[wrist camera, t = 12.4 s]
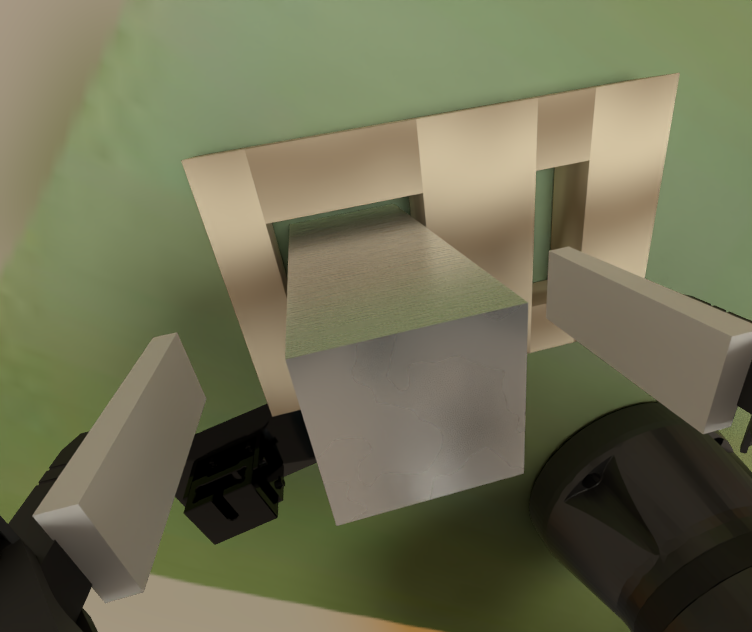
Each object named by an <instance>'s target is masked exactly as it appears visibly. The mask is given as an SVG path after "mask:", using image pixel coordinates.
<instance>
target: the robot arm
mask: <svg viewBox="0 0 752 632" xmlns="http://www.w3.org/2000/svg"><path fill="white" fill-rule="evenodd" d="M546 318H547V319H548V320H549V321H551V322H552V323H553V324H555V325H556V326H557V327H559V328H560V329H561V330H563V331H564V332H565V333H567V334H568V335H570V336H571V337H572V338H574V339H575V340H576V341H578V342H579V343H580V344H582V345H583V346H584V347H586V348H587V349H588V350H590V351H591V352H593V353H594V354H595V355H597V356H598V357H599V358H601V359H602V360H603V361H605V362H606V363H607V364H609V365H610V366H611V367H613V368H614V369H615V370H617V371H618V372H620V373H621V374H622V375H624V376H625V377H626V378H628V379H629V380H630V381H632V382H633V383H634V384H636V385H637V386H638V387H640V388H641V389H642V390H644V391H645V392H647V393H648V394H649V395H651V396H652V397H653V398H655V399H656V400H657V401H659V402H660V403H646V404H640V405H636V406H631V407H628V408H625V409H622V410H619V411H616V412H614V413H612V414H609V415H607V416H605V417H603V418H601V419H599V420H597V421H596V422H594V423H592V424H591V425H589V426H587V427H586V428H584V429H583V430H581V431H580V432H579V433H577V434H576V435H575V436H573V437H572V438H571V439H570V440H568V441H567V442H566V443H565V444H564V445H563V446H562V447H561V448H560V449H559V450H558V451H557V452H556V453H555V454H554V455H553V456H552V458H551V459H550V460H549V461H548V463H547V464H546V465H545V467H544V468H543V470H542V471H541V473H540V474H539V476H538V478H537V480H536V482H535V484H534V487H533V490H532V493H531V497H530V503H529V512H530V517H531V521H532V523H533V525H534V527H535V529H536V530H537V532H538V533H539V535H540V537H541V538H542V540H543V542H544V543H545V545H546V546H547V548H548V549H549V551H550V552H551V553H552V555H553V556H554V557H555V558H556V559H557V560H558V561H559V562H560V563H562V564H563V565H564V566H565V567H566V568H567V569H568V570H569V571H570V572H571V573H572V574H573V575H574V576H575V577H576V578H578V579H579V580H580V581H581V582H582V583H583V584H584V585H585V586H586V587H587V588H588V589H589V590H590V591H592V592H593V593H594V594H595V595H596V596H597V597H598V598H599V599H600V600H601V601H602V602H603V603H604V604H605V605H607V606H608V607H609V608H610V609H611V610H612V611H613V612H614V613H615V614H616V615H617V616H618V617H619V618H620V619H622V621H623V622H624V623H625V624H626V625H627V626H628V628H629V629H630V630H631V632H752V472H751V471H750V470H749V469H748V467H747V466H746V465H745V464H744V463H743V462H742V461H741V460H740V458H739V457H738V456H737V455H736V454H735V453H734V452H733V449H732V447H731V445H730V444H729V443H728V441H727V440H726V439H725V437H724V436H723V435H722V434H721V433H720V432H719V431H718V430H720V429H724V428H727V427H731V425H732V422H733V419H734V416H735V413H736V410H737V407H738V406H739V407H741V408H742V409H744V410H745V411H747V412H749V413H750V414H752V321H751V320H748V319H746V318H743V317H741V316H738V315H736V314H734V313H731V312H726V310H724V309H722V308H719V307H717V306H711V304H710V303H707V302H705V301H702V300H700V299H697V298H695V297H693V296H688V295H684V294H681V293H678V292H676V291H673V290H671V289H669V288H666V287H664V286H661V285H659V284H657V283H654V282H652V281H650V280H647V279H645V278H642V277H640V276H638V275H635V274H633V273H631V272H628V271H626V270H623V269H621V268H619V267H616V266H614V265H611V264H609V263H607V262H604V261H602V260H600V259H597V258H595V257H592V256H590V255H588V254H585V253H583V252H581V251H578V250H576V249H573V248H571V247H564V248H559V249H555V250H550V251H549V262H548V283H547V304H546ZM205 401H206V397H205V394H204V392H203V390H202V388H201V385H200V383H199V381H198V379H197V376H196V374H195V372H194V369H193V367H192V365H191V363H190V360H189V358H188V356H187V354H186V351H185V349H184V347H183V344H182V342H181V340H180V338H179V335H178V333H177V332H176V333H171V334H167V335H162V336H158V337H153V338H152V340H151V341H150V343H149V344H148V346H147V347H146V349H145V350H144V352H143V353H142V355H141V356H140V357H139V359H138V360H137V362H136V363H135V365H134V366H133V368H132V369H131V371H130V372H129V374H128V375H127V377H126V378H125V380H124V381H123V383H122V384H121V386H120V387H119V388H118V390H117V391H116V393H115V394H114V396H113V397H112V399H111V400H110V402H109V403H108V405H107V406H106V408H105V409H104V411H103V412H102V414H101V415H100V417H99V418H98V419H97V421H96V422H95V424H94V425H93V427H92V428H91V430H90V431H89V432H85V433H81V434H80V435H79V436H77V437H76V438H75V439H74V440H73V441H72V442H71V443H69V444H68V445H67V446H66V447H65V448H64V449H63V450H62V451H61V452H60V453H59V455H58V456H57V457H56V459H55V460H54V462H53V463H52V464H51V466H50V467H49V468H50V470H49V471H46V473H45V474H44V475H43V477H42V478H41V480H40V481H39V485H37V486H35V488H34V489H33V491H32V492H31V493H30V495H29V496H28V497H27V499H26V500H25V502H24V503H23V504H22V506H21V507H20V509H19V510H18V511H17V513H16V514H15V515H14V517H13V518H12V520H11V521H10V522H9V524H7V523H6V522H5V520H4V519H3V518H2V517H1V516H0V632H98V631H97V629H96V627H95V625H94V623H93V621H92V619H91V617H90V616H89V615H88V613H87V612H86V611H85V610H84V609H83V605H84V603H85V601H86V598H87V596H88V594H89V592H90V589H91V587H92V588H93V589H94V590H95V592H96V593H97V594H98V595H99V596H100V597H101V599H102V600H103V601H104V602H105V603H108V602H111V601H115V600H118V599H122V598H125V597H129V596H132V595H136V594H139V593H143V592H144V590H145V587H146V583H147V580H148V577H149V574H150V571H151V568H152V565H153V562H154V559H155V556H156V553H157V549H158V546H159V543H160V540H161V537H162V534H163V531H164V528H165V525H166V522H167V519H168V516H169V512H170V509H171V506H172V503H173V500H174V497H175V494H176V491H177V488H178V485H179V482H180V478H181V475H182V472H183V469H184V466H185V463H186V460H187V457H188V454H189V451H190V448H191V445H192V441H193V438H194V435H195V432H196V429H197V426H198V423H199V420H200V417H201V414H202V411H203V407H204V404H205ZM751 445H752V416H751V419H750V421H749V424H748V427H747V430H746V432H745V435H744V438H743V441H742V443H741V447H740V452H741V453H747V450H748V447H749V446H751Z"/></svg>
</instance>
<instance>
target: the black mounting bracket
mask: <svg viewBox="0 0 752 632" xmlns="http://www.w3.org/2000/svg"><path fill="white" fill-rule="evenodd" d="M316 462H317V461H316V457H315V454H314V451H313V448H312V444H311V441H310V438H309V435H308V432H307V428H306V425H305V422H304V419H303V415H302V412H301V410H297V411H293V412H289V413H285V414H281V415H277V416H273V417H272V414H271V411H270V409H269V406H268V404H266V405H263V406H261V407H259V408H256V409H254V410H251V411H249V412H247V413H244V414H242V415H240V416H237V417H235V418H233V419H230V420H228V421H226V422H223V423H221V424H219V425H216V426H214V427H212V428H209V429H207V430H205V431H202V432H200V433H197V434H195V435H194V438H193V441H192V445H191V448H190V451H189V454H188V457H187V460H186V463H185V466H184V469H183V472H182V475H181V478H180V482H179V485H178V488H177V491H176V494H175V497H176V498H177V499H178V500H179V501H180V502H181V503H182V504H183V505H184V506H185V510H184V514H185V515H186V516H187V517H188V518H189V519H190V520H191V521H192V522H193V523H194V524H195V525H196V526H197V527H198V528H199V529H200V530H201V531H202V532H203V533H204V535H205V536H206V537H207V538H208V539H209V540H210V541H211V542H212V543H213V544H214V545H216V544H218V543H220V542H223V541H225V540H227V539H230V538H232V537H234V536H236V535H239V534H241V533H243V532H246V531H248V530H250V529H253V528H255V527H257V526H259V525H262V524H264V523H266V522H269V521H271V520H273V519H276V518H277V517H278V502H281V501H283V488H284V486H285V481H284V476H287V475H289V474H291V473H293V472H296V471H298V470H300V469H303V468H305V467H307V466H310V465H312V464H314V463H316Z"/></svg>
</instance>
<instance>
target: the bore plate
mask: <svg viewBox="0 0 752 632" xmlns="http://www.w3.org/2000/svg"><path fill="white" fill-rule="evenodd" d="M679 75H680V73H675V74H668V75H661V76H654V77H647V78H640V79H633V80H627V81H622V82H616V83H610V84H605V85H599V86H593V87H588V88H582V89H576V90H571V91H565V92H559V93H553V94H548V95H542V96H536V97H531V98H525V99H519V100H514V101H508V102H502V103H496V104H491V105H485V106H479V107H474V108H468V109H462V110H457V111H451V112H445V113H439V114H434V115H428V116H422V117H417V118H411V119H405V120H400V121H394V122H388V123H383V124H377V125H371V126H365V127H360V128H354V129H348V130H343V131H337V132H331V133H326V134H320V135H314V136H308V137H303V138H297V139H291V140H286V141H280V142H274V143H269V144H263V145H257V146H251V147H246V148H240V149H234V150H229V151H223V152H217V153H212V154H206V155H200V156H195V157H192V158H188V159H185V160H181V161H182V164H183V167H184V170H185V173H186V175H187V178H188V181H189V184H190V187H191V189H192V192H193V195H194V198H195V201H196V203H197V206H198V209H199V212H200V215H201V217H202V220H203V223H204V226H205V229H206V232H207V234H208V237H209V240H210V243H211V246H212V248H213V251H214V254H215V257H216V260H217V262H218V265H219V268H220V271H221V274H222V277H223V279H224V282H225V285H226V288H227V291H228V293H229V296H230V299H231V302H232V305H233V307H234V310H235V313H236V316H237V319H238V322H239V324H240V327H241V330H242V333H243V336H244V338H245V341H246V344H247V347H248V350H249V352H250V355H251V358H252V361H253V364H254V366H255V369H256V372H257V375H258V378H259V381H260V383H261V386H262V389H263V392H264V395H265V397H266V400H267V403H268V406H269V409H270V411H271V414H272V417H273V416H277V415H281V414H285V413H289V412H293V411H297V410H301V409H300V406H299V403H298V399H297V396H296V393H295V390H294V386H293V383H292V380H291V377H290V373H289V370H288V367H287V364H286V361H285V348H286V317H287V285H288V279H287V276H286V272H285V269H284V265H283V261H282V258H281V254H280V250H279V247H278V243H277V240H276V236H275V232H274V229H273V225H272V223H273V222H278V221H283V220H288V219H293V218H298V217H304V216H309V215H314V214H319V213H324V212H329V211H334V210H339V209H344V208H349V207H354V206H360V205H365V204H370V203H375V202H380V201H385V200H390V199H395V198H400V197H405V196H409V204H410V213H411V217H413V218H414V219H415V220H417V221H418V222H419V223H421V224H422V225H424V226H425V227H426V228H428V229H429V230H430V231H432V232H433V233H434V234H436V235H437V236H438V237H440V238H441V239H443V240H444V241H445V242H447V243H448V244H449V245H451V246H452V247H453V248H455V249H456V250H457V251H459V252H460V253H462V254H463V255H464V256H466V257H467V258H468V259H470V260H471V261H472V262H474V263H475V264H476V265H478V266H479V267H480V268H482V269H483V270H485V271H486V272H487V273H489V274H490V275H491V276H493V277H494V278H495V279H497V280H498V281H499V282H501V283H502V284H504V285H505V286H506V287H508V288H509V289H510V290H512V291H513V292H514V293H516V294H517V295H518V296H520V297H521V298H523V299H524V300H525V301H527V302H528V334H527V354H528V353H532V352H536V351H540V350H544V349H548V348H552V347H556V346H560V345H564V344H568V343H572V342H576V340H575V339H574V338H572V337H571V336H570V335H568V334H567V333H565V332H564V331H563V330H561V329H560V328H559V327H557V326H556V325H555V324H553V323H552V322H551V321H549V320H548V319H547V318H546V304H547V283H548V280H544V281H539V282H535V283H532V280H533V248H534V216H535V183H536V171H538V170H543V169H548V168H553V167H555V171H554V191H553V210H552V229H551V249H550V250H555V249H559V248H564V247H571V248H573V249H576V250H578V251H581V252H583V253H585V254H588V255H590V256H592V257H595V258H597V259H600V260H602V261H604V262H607V263H609V264H611V265H614V266H616V267H619V268H621V269H623V270H626V271H628V272H631V273H633V274H635V275H638V276H640V277H642V278H645V273H646V267H647V261H648V256H649V250H650V244H651V238H652V232H653V226H654V220H655V215H656V209H657V203H658V197H659V191H660V185H661V180H662V174H663V168H664V162H665V156H666V150H667V145H668V139H669V133H670V127H671V121H672V115H673V110H674V104H675V98H676V92H677V86H678V80H679Z"/></svg>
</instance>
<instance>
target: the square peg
mask: <svg viewBox="0 0 752 632" xmlns="http://www.w3.org/2000/svg"><path fill="white" fill-rule="evenodd" d="M527 334H528V302H527V301H525V300H524V299H523V298H521V297H520V296H518V295H517V294H516V293H514V292H513V291H512V290H510V289H509V288H508V287H506V286H505V285H504V284H502V283H501V282H499V281H498V280H497V279H495V278H494V277H493V276H491V275H490V274H489V273H487V272H486V271H485V270H483V269H482V268H480V267H479V266H478V265H476V264H475V263H474V262H472V261H471V260H470V259H468V258H467V257H466V256H464V255H463V254H462V253H460V252H459V251H457V250H456V249H455V248H453V247H452V246H451V245H449V244H448V243H447V242H445V241H444V240H443V239H441V238H440V237H438V236H437V235H436V234H434V233H433V232H432V231H430V230H429V229H428V228H426V227H425V226H424V225H422V224H421V223H419V222H418V221H417V220H415V219H414V218H413V217H411V216H410V215H409V214H407V213H406V212H405V211H403V210H402V209H400V208H399V207H398V206H396V205H395V204H389V205H384V206H379V207H374V208H369V209H364V210H359V211H354V212H349V213H344V214H339V215H334V216H328V217H323V218H318V219H313V220H308V221H303V222H298V223H293V224H289V254H288V285H287V317H286V348H285V361H286V364H287V367H288V370H289V373H290V377H291V380H292V383H293V386H294V390H295V393H296V396H297V399H298V403H299V406H300V409H301V412H302V415H303V419H304V422H305V425H306V428H307V432H308V435H309V438H310V441H311V444H312V448H313V451H314V454H315V457H316V461H317V464H318V467H319V470H320V474H321V477H322V480H323V483H324V486H325V490H326V493H327V496H328V499H329V503H330V506H331V509H332V512H333V515H334V519H335V522H336V525H337V526H338V525H342V524H345V523H349V522H352V521H356V520H359V519H363V518H367V517H370V516H374V515H377V514H381V513H384V512H388V511H392V510H395V509H399V508H402V507H406V506H409V505H413V504H417V503H420V502H424V501H427V500H431V499H434V498H438V497H442V496H445V495H449V494H452V493H456V492H459V491H463V490H467V489H470V488H474V487H477V486H481V485H484V484H488V483H492V482H495V481H499V480H502V479H506V478H509V477H513V476H517V475H520V474H524V449H525V410H526V372H527Z"/></svg>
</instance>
